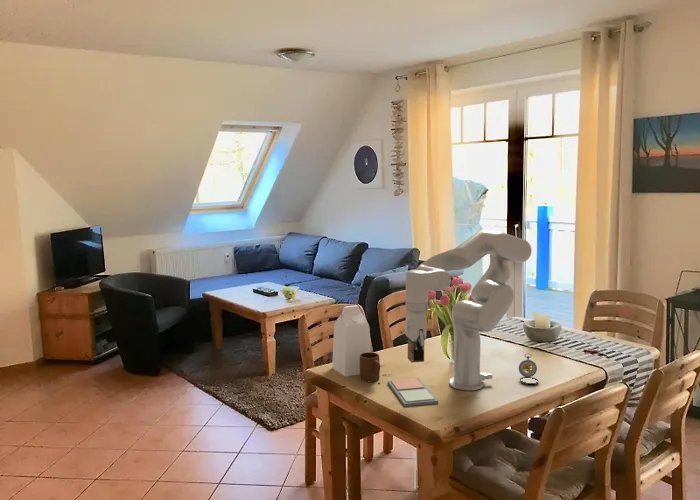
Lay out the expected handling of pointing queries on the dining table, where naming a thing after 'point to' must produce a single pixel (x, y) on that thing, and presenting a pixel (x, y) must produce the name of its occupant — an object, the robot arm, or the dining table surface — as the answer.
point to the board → (412, 392)
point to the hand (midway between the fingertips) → (416, 357)
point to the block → (412, 351)
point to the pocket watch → (527, 369)
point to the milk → (350, 341)
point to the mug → (369, 367)
